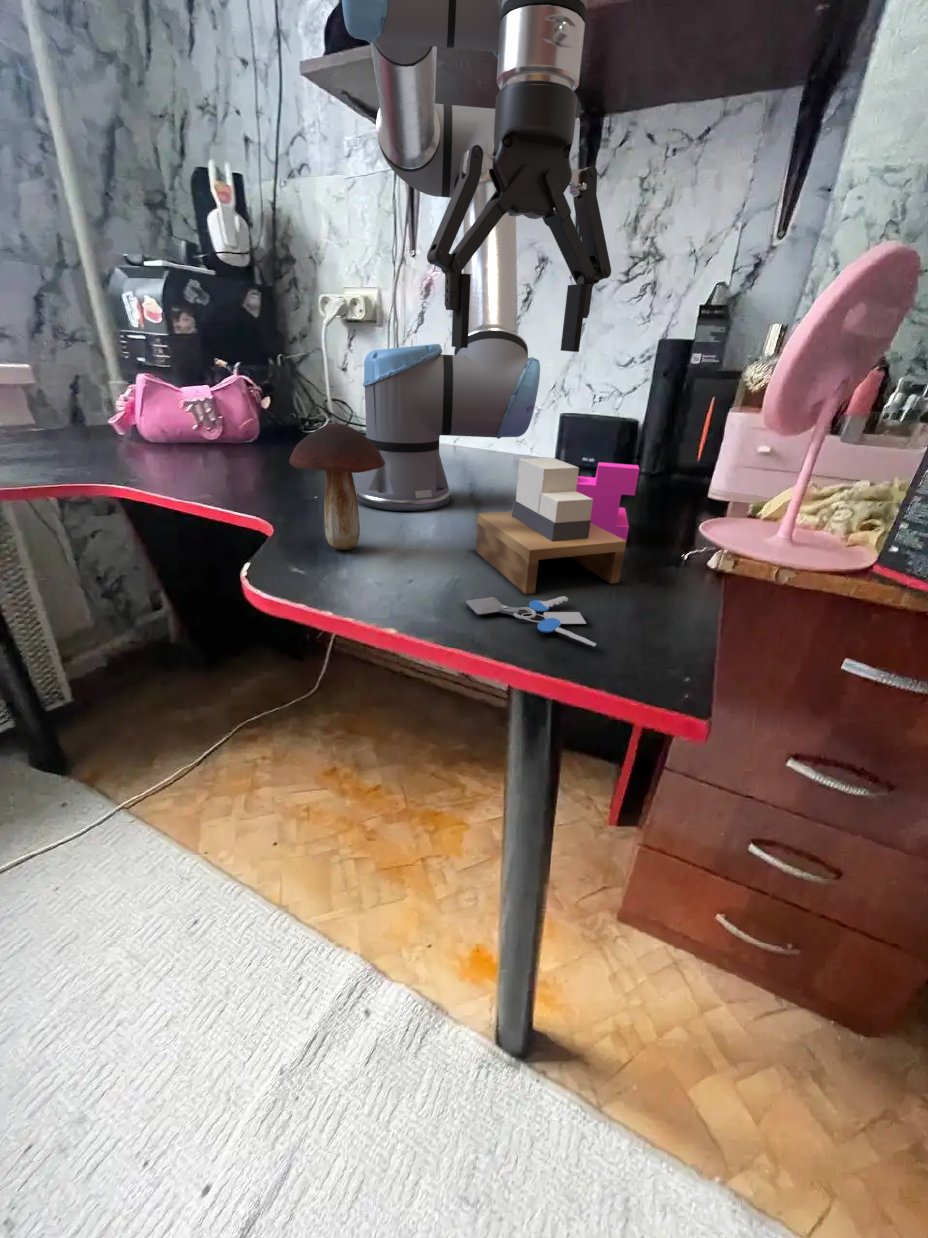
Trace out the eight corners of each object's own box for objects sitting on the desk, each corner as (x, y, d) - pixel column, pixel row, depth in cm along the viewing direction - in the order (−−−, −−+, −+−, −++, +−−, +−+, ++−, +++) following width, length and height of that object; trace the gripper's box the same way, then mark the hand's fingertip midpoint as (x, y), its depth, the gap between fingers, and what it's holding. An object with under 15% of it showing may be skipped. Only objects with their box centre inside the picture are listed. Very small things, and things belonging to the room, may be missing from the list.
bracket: (625, 545, 75) (639, 468, 70) (550, 537, 76) (558, 462, 72) (621, 521, 85) (633, 453, 81) (555, 515, 87) (563, 448, 82)
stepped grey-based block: (511, 516, 67) (516, 457, 64) (544, 513, 69) (551, 456, 66) (552, 541, 59) (559, 475, 56) (588, 538, 60) (598, 474, 57)
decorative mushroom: (400, 542, 72) (399, 422, 65) (361, 570, 62) (355, 433, 56) (326, 531, 75) (318, 415, 68) (278, 556, 65) (263, 424, 59)
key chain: (456, 611, 53) (456, 603, 53) (494, 584, 60) (495, 577, 60) (594, 652, 47) (595, 643, 47) (620, 617, 54) (622, 609, 53)
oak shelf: (475, 551, 70) (477, 513, 68) (557, 544, 74) (561, 507, 72) (525, 594, 58) (529, 549, 56) (619, 582, 62) (626, 540, 60)
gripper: (420, 43, 43) (419, 346, 53) (672, 104, 52) (630, 354, 61) (394, 77, 49) (397, 343, 59) (623, 127, 58) (592, 351, 68)
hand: (516, 349), depth 60 cm, fingers open, 13 cm apart
